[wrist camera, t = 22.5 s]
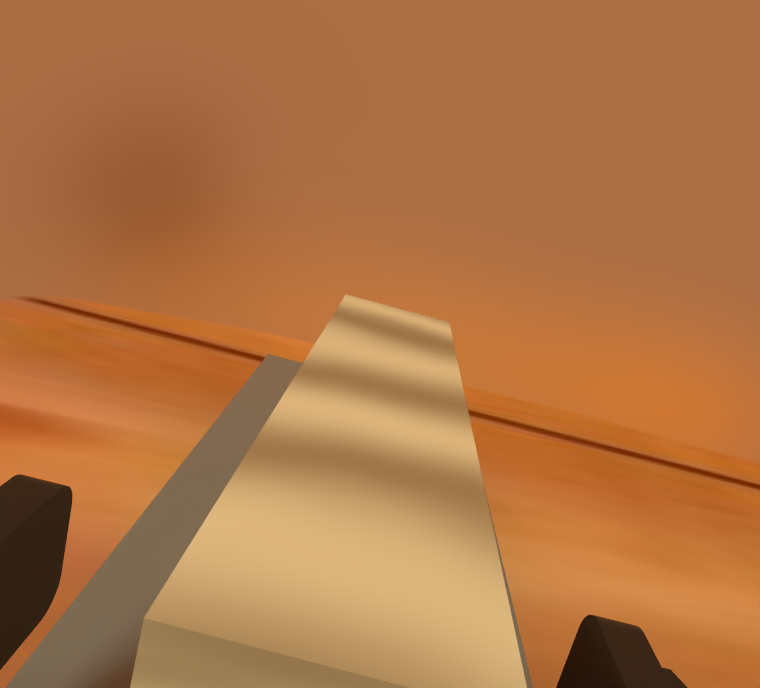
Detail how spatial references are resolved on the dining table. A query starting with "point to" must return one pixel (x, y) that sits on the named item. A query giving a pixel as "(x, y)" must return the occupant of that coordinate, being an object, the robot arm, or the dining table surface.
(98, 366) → the dining table surface
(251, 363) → the dining table surface
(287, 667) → the bar
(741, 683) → the dining table surface
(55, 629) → the board
